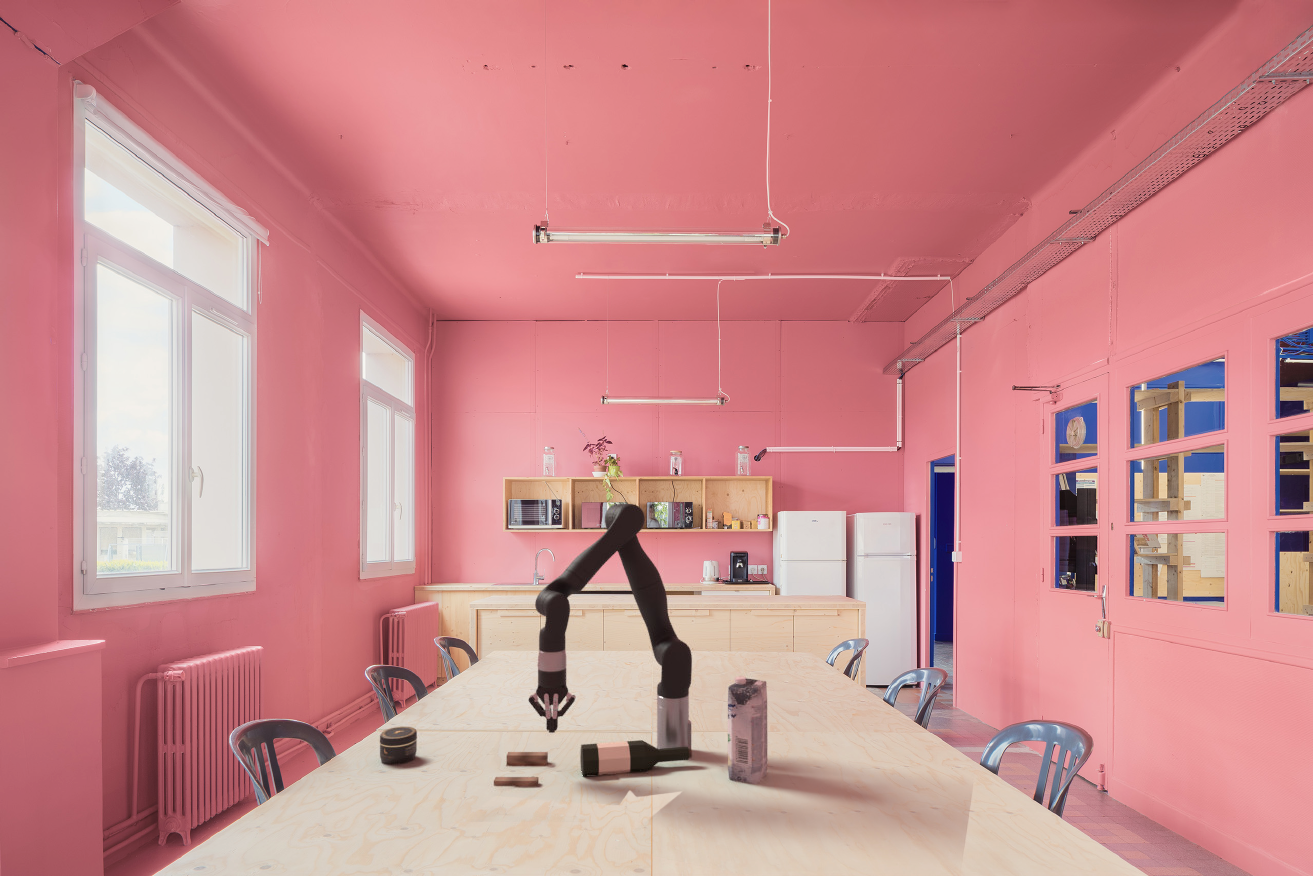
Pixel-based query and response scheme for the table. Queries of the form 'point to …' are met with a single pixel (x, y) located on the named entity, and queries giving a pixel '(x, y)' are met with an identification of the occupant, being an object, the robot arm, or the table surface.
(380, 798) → the table surface
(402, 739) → the jar
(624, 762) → the wine bottle
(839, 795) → the table surface
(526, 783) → the u rest
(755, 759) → the juice carton
